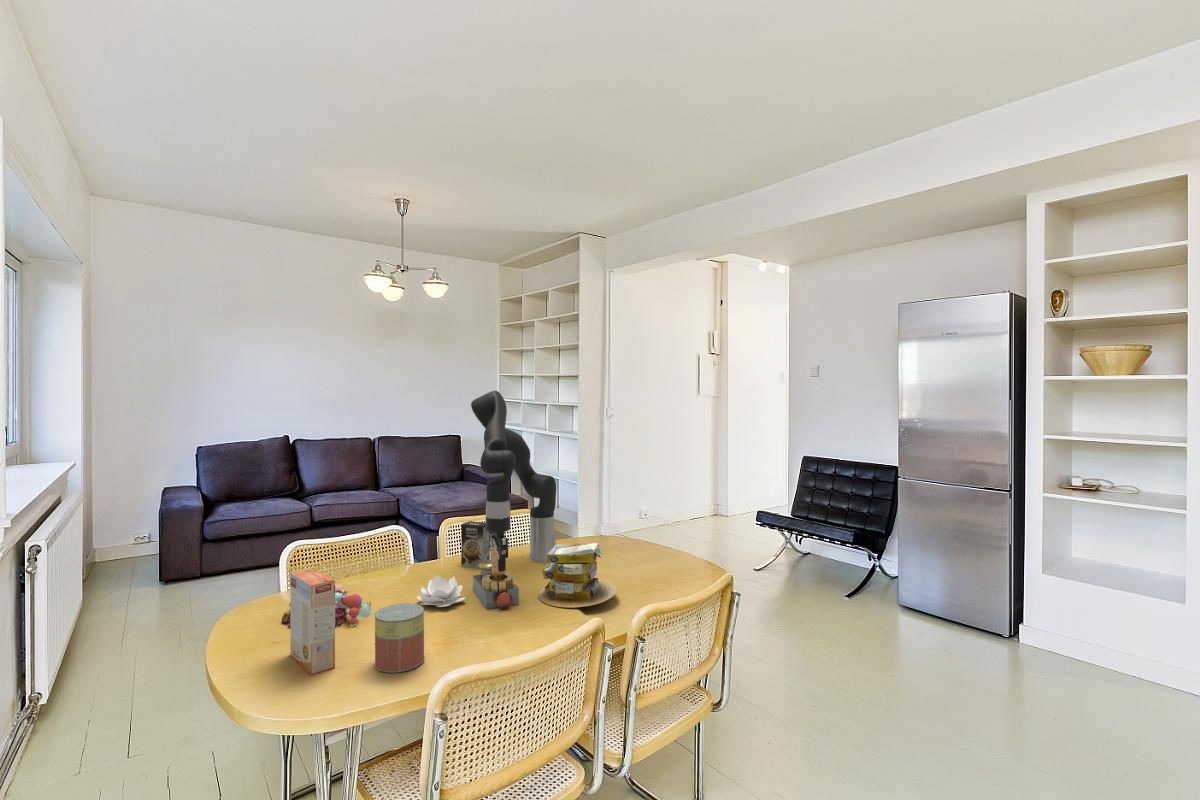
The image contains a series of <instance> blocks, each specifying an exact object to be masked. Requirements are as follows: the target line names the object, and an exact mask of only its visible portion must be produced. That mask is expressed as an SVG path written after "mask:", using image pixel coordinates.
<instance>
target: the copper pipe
mask: <svg viewBox="0 0 1200 800" xmlns="http://www.w3.org/2000/svg"><path fill="white" fill-rule="evenodd" d="M491 553H492V580H503V579H505V573H506V572H505V571H506V570H505V571H501V572H499V571H498V555H497V553H496V552H495V547H494V546H492V547H491V551H490V554H491ZM502 554H504V553H503V552H502Z"/></svg>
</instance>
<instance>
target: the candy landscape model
mask: <svg viewBox="0 0 1200 800" xmlns="http://www.w3.org/2000/svg"><path fill="white" fill-rule="evenodd" d="M288 607H290V608H289V609H287V610H286V611H285V612H284V613H283V615H282V617H281V624H282V625H283V627H285V626H286V627H287V628H286V629H289V630H291V601H290V602H289V604H288ZM371 607H372V602H371V600H369V602H368V601H367V602H366V601H365V600H364V599H362V597H361V596H360V595H359V594H357V593H353V594H349V592H348V591H346V590H344V589H343V586H342V585H337V584H336V583H335V628H340V627H342V625H344V624H345V623H346V622H347V620H348V617H350V619H349V628H354V627H355V626H356V625H357V621H358V619H364V618H365V619H366V618H369V617H371V616H372V613H373V608H371ZM357 618H358V619H357Z"/></svg>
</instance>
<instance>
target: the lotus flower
mask: <svg viewBox="0 0 1200 800" xmlns="http://www.w3.org/2000/svg"><path fill="white" fill-rule="evenodd" d="M463 587H464V586H463V584H461V585H458V581H457V579H456V578H455V576H452V577H451V578H449V580H448V581H447V580H446V579H445V578H444V577H441V576H439V575H438V574H435V575H434V576H433V578H432V579H429V581H428V584H427V588H426V587H425V586H423V585H421V587H420V591H421V593H422V594H421V593H418V596H416V598H417V600H419V601H420V602H422V603H419V605H426V606H427V605H429V606H430V605H431V606H435V607H437V608H443V607H449V606H452V605H453V604H457V603H461V602H462V601H465V600H466V599H467V597H461V592H462V591H463Z"/></svg>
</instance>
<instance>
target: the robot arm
mask: <svg viewBox="0 0 1200 800" xmlns="http://www.w3.org/2000/svg"><path fill="white" fill-rule="evenodd" d="M470 407H471V410H472V413H473V414H474V416H475V417H476V419H477V420H478V421H479V422H480V424H481V425H482V426H483V428H485V429H484V432H483V443H484V450H483V452H482V454H481V457H480V465H479V466H480V469H481V470H482V472H484V473H485V474H502V476H501V477H500V478H499V479H495V480H494V479H493V480H491V481H489V482H487V484H486V504H485V523H486V530H487V531H488V532H489V548H490V560H491V563H492V553H491V547H492V546H494V547H495V552H496V553H497V555H498V571H499V572H501V571H506V570H507V568H506V567H507V564H506V562H507V561H506V560H507V559H508V558H509V538H508V537H506V536H505V533H506V532H509V531H510V530H511V503H510V502H511V501H510V487H511V486H510V485H511V481H512V475H513V474H514V473H513V472H515V474H516V475H517V477H518V479H519V480H520V482H521V485H522V486H523V489H524V490H525V492H526V493H527V494H528V496H529V497H531V498H533V499H539V503H538V505H537V506H533V507H531V508H530V511H529V543H530V544H529V549H530V550H529V555H530V556H529V559H530V561H531V560H532V562H534V563H542V562H543V563H548V558H547V554H548V552H549V551H550V550H551V549H552V548H553V547H554V546H555V545H557V544H556V540H557V539H556V538H557V537H556V535H555V534H554V533H555V531H554V530H555V529H554V528H555V523H554V522H555V521H554V519H555V517H554V515H555V509H556V503H557V502H556V500H557V483H556V480H555V478H554V476H553V475H547V474H541V473H540V474H539V473H537V472H536V471H535V470H534V468H533V467H532V465H531V450H530V448H529V446H528V444H527V442H526V441H525V439H524V438H523V436H522V435H520V434H519V433H518V432H516V431H514V430H510V429H509V428H506V421H507V414H508V413H507V403H506V401H505V399H504V397H503V395H502V394H501V393H500V391H498V390H492V391H488V392H486V393H485V394H483V395H480V396H479V397H477V398H475V399H473V400H472V401H471V403H470ZM502 552H503V553H504V554H502Z"/></svg>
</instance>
